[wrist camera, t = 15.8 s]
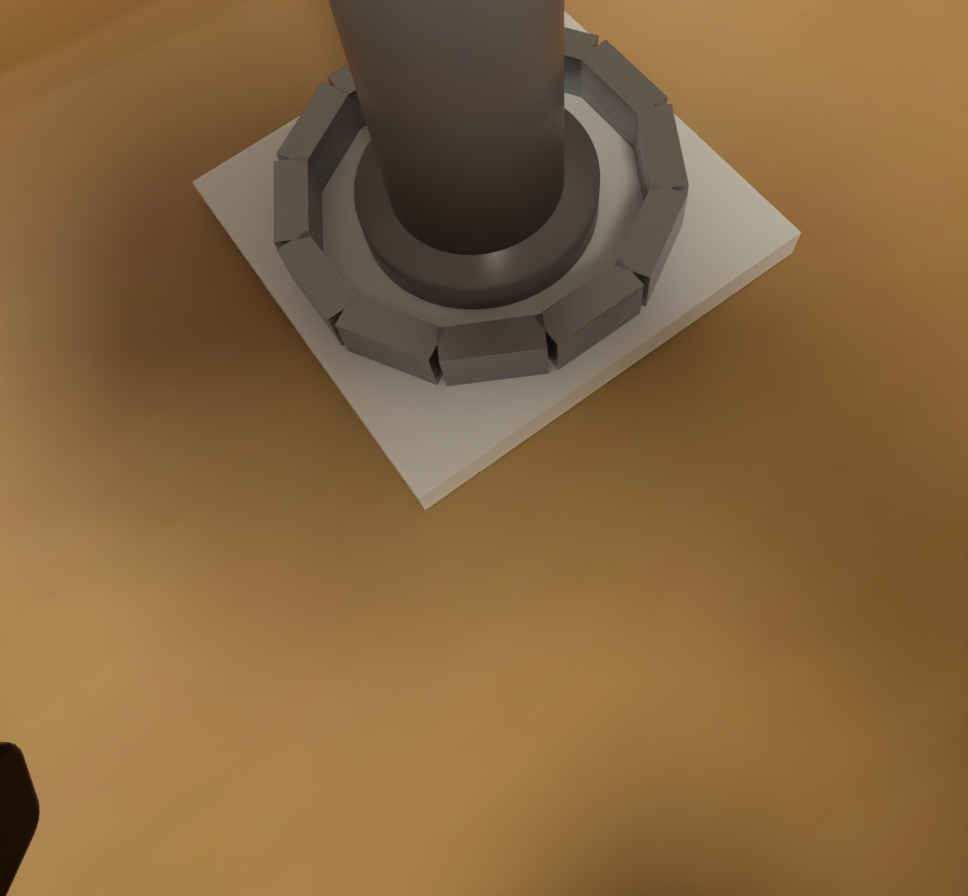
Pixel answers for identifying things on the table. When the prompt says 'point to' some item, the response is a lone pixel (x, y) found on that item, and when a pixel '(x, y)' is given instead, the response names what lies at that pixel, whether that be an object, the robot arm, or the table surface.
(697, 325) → the table surface
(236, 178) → the flange plate
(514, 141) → the pipe fitting
